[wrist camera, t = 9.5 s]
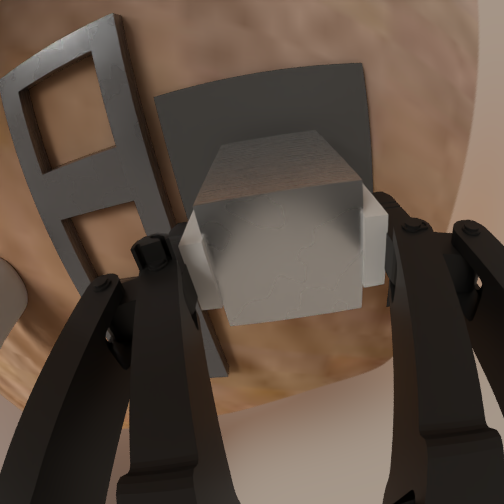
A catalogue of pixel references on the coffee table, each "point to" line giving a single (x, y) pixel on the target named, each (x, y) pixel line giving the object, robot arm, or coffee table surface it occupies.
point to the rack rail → (94, 156)
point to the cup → (10, 299)
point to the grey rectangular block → (283, 228)
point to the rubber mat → (265, 118)
